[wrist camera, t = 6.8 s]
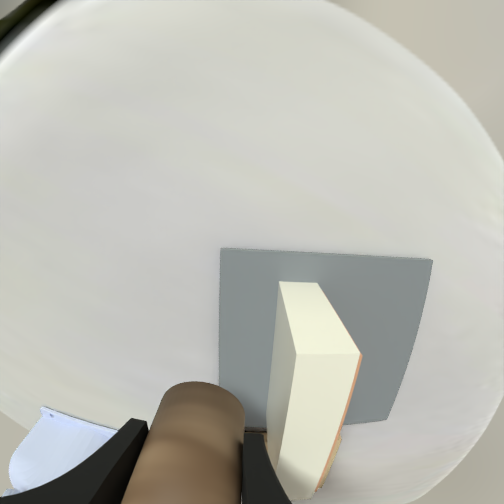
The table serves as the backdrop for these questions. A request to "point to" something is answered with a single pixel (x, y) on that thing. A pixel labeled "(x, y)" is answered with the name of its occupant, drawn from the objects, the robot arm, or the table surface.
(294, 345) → the tile
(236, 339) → the mat
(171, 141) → the table surface
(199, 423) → the dowel
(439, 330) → the table surface
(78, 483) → the robot arm
